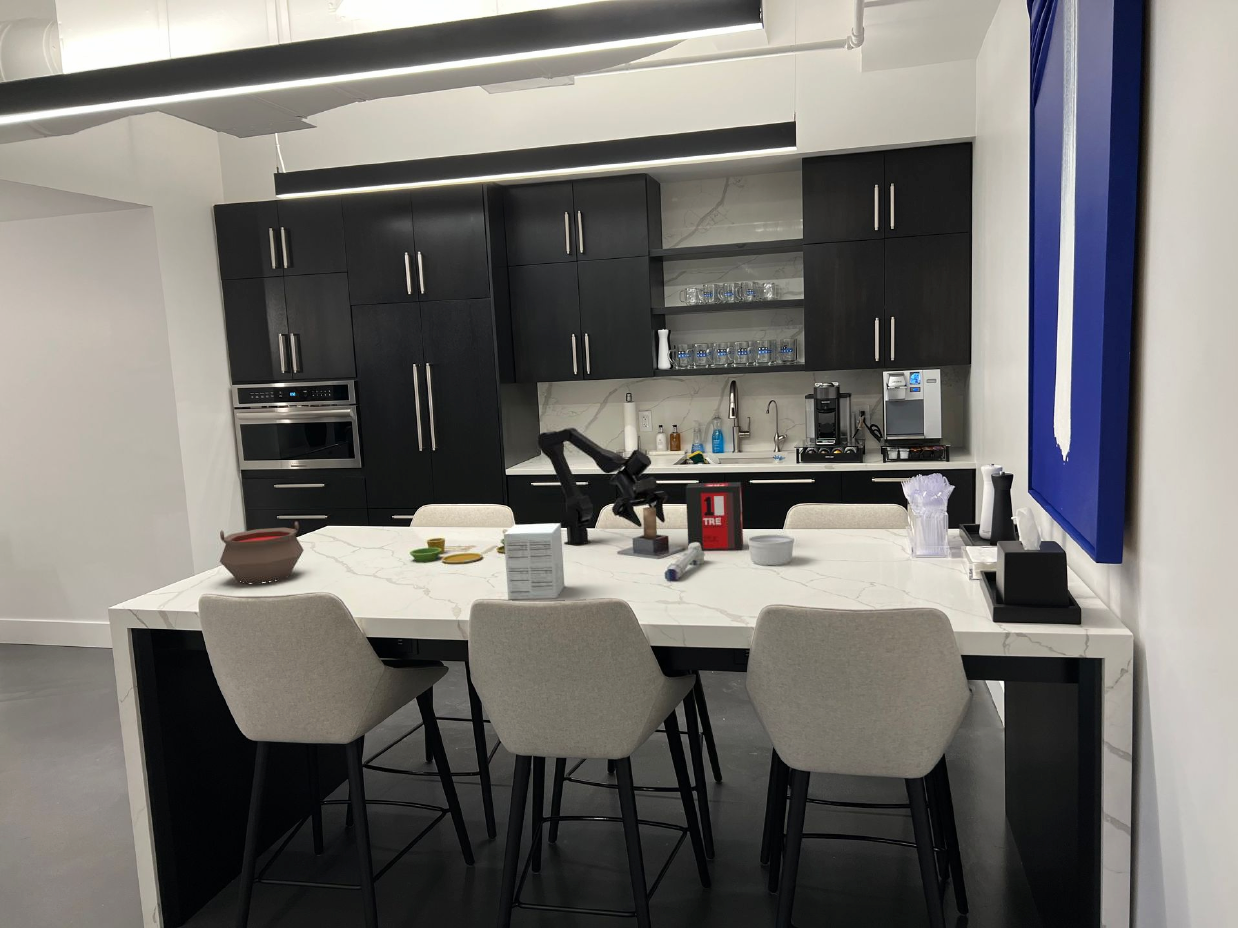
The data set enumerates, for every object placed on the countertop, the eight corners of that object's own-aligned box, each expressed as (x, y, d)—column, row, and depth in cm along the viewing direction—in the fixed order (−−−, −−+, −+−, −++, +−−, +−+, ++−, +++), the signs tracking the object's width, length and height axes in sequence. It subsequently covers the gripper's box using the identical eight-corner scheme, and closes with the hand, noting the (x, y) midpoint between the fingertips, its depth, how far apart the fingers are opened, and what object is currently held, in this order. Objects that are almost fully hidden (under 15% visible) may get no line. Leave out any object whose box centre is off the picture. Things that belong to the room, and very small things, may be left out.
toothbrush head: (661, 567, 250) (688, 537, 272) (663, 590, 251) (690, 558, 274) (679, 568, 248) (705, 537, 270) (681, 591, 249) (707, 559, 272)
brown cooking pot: (225, 593, 263) (219, 536, 262) (219, 577, 285) (213, 525, 283) (312, 579, 274) (307, 525, 272) (299, 565, 296) (295, 515, 294)
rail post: (642, 549, 288) (640, 508, 286) (649, 547, 291) (648, 506, 289) (652, 551, 285) (650, 509, 284) (660, 548, 288) (658, 507, 287)
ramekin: (749, 557, 274) (749, 534, 274) (795, 556, 272) (794, 533, 271) (746, 567, 261) (745, 543, 261) (794, 567, 259) (793, 542, 258)
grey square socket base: (617, 553, 288) (616, 538, 287) (644, 545, 299) (643, 530, 298) (658, 558, 278) (657, 543, 277) (685, 549, 288) (684, 534, 288)
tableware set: (555, 547, 306) (554, 528, 305) (525, 566, 279) (523, 546, 278) (442, 547, 317) (440, 529, 316) (402, 565, 290) (401, 545, 289)
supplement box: (517, 587, 252) (513, 524, 250) (565, 585, 251) (561, 522, 249) (507, 600, 239) (502, 533, 237) (557, 598, 238) (552, 532, 236)
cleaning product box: (688, 551, 286) (685, 487, 284) (691, 545, 295) (688, 483, 293) (742, 550, 283) (739, 486, 281) (743, 544, 292) (740, 482, 290)
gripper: (615, 472, 283) (639, 512, 275) (662, 466, 294) (686, 503, 286) (601, 495, 290) (624, 534, 282) (648, 488, 301) (671, 525, 293)
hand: (652, 523), depth 286 cm, fingers open, 9 cm apart
